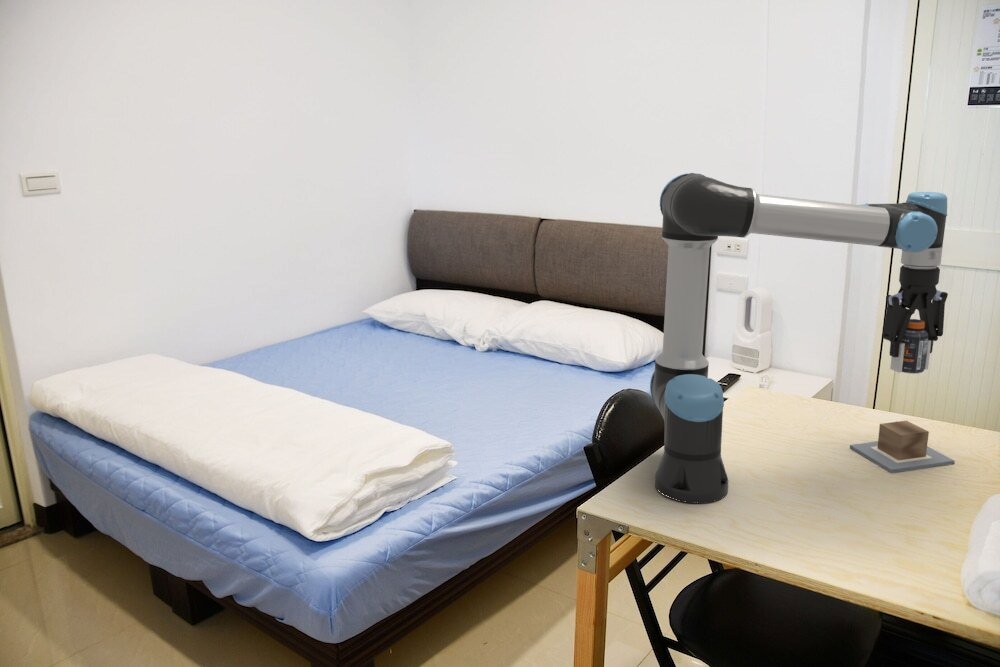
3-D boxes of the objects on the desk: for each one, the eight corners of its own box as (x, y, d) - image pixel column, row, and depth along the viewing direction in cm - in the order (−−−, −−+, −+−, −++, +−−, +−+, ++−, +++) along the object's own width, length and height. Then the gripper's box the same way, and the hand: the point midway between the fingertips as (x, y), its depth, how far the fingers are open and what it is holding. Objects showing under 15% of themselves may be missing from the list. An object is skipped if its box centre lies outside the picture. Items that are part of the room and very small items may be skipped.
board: (891, 473, 169) (891, 469, 169) (849, 448, 182) (850, 444, 182) (954, 463, 172) (954, 460, 172) (909, 440, 185) (909, 436, 185)
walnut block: (898, 460, 173) (901, 435, 171) (877, 448, 180) (879, 423, 178) (925, 456, 174) (928, 431, 173) (903, 444, 181) (906, 420, 179)
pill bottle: (887, 368, 173) (893, 319, 170) (906, 364, 176) (911, 315, 173) (911, 375, 168) (917, 325, 165) (930, 371, 170) (936, 321, 168)
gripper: (893, 272, 160) (883, 378, 166) (972, 265, 164) (958, 369, 170) (869, 266, 167) (860, 368, 173) (945, 259, 171) (933, 360, 177)
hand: (909, 368), depth 172 cm, fingers closed on pill bottle, 6 cm apart
